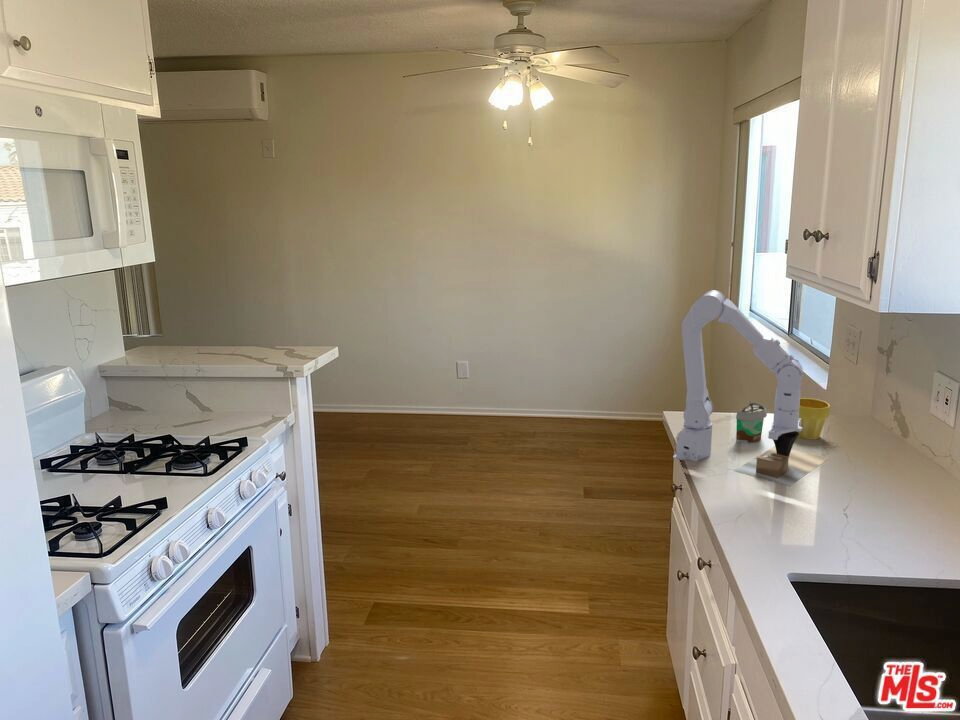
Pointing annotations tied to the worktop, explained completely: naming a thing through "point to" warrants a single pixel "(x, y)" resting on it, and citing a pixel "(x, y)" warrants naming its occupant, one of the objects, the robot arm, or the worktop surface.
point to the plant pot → (812, 417)
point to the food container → (750, 423)
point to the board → (797, 467)
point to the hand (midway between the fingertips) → (782, 459)
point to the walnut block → (772, 464)
